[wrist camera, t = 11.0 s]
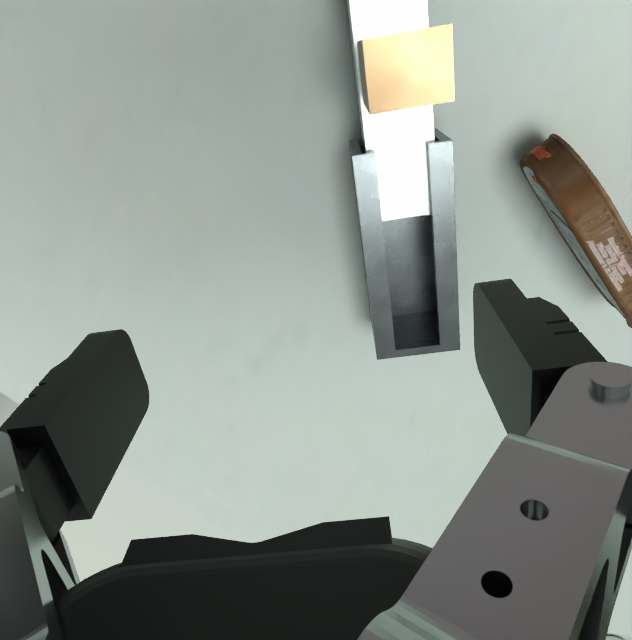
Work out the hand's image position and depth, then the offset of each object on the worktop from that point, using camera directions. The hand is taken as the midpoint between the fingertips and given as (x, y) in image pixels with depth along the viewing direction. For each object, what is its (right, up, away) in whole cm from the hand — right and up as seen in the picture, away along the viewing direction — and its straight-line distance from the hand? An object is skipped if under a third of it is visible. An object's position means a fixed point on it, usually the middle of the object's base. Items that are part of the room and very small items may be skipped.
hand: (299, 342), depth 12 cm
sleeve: (+7, +7, +28) cm, 29 cm away
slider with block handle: (+5, +17, +22) cm, 28 cm away
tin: (+19, +8, +27) cm, 34 cm away
